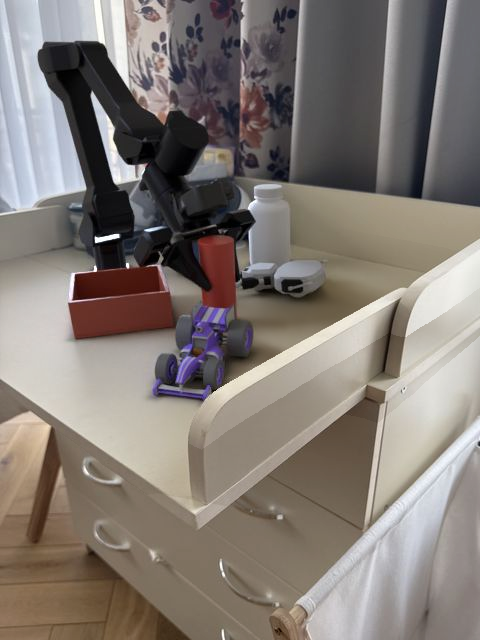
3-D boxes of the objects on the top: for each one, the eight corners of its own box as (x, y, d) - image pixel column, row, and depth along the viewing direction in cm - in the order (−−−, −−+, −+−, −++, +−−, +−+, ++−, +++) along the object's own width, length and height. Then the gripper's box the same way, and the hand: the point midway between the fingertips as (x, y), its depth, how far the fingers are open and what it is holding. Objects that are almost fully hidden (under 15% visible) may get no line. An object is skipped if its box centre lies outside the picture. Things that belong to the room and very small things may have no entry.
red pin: (201, 320, 83) (195, 236, 77) (233, 316, 85) (229, 233, 79) (207, 333, 79) (201, 246, 73) (240, 329, 80) (237, 242, 74)
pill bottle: (252, 257, 111) (250, 182, 104) (292, 258, 110) (292, 182, 103) (246, 270, 104) (243, 190, 97) (288, 271, 103) (288, 190, 96)
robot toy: (229, 302, 91) (316, 305, 87) (226, 277, 90) (315, 278, 85) (253, 279, 102) (331, 280, 97) (250, 255, 100) (331, 256, 95)
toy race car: (141, 395, 64) (134, 345, 61) (189, 340, 77) (185, 297, 74) (218, 405, 62) (214, 354, 59) (254, 347, 75) (253, 303, 72)
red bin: (77, 305, 89) (71, 273, 87) (163, 295, 93) (160, 264, 90) (74, 339, 78) (67, 302, 76) (173, 326, 81) (170, 291, 79)
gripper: (133, 167, 68) (191, 272, 66) (245, 152, 79) (298, 241, 77) (111, 219, 77) (162, 313, 75) (215, 199, 88) (262, 280, 86)
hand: (224, 285), depth 78 cm, fingers closed on red pin, 5 cm apart
